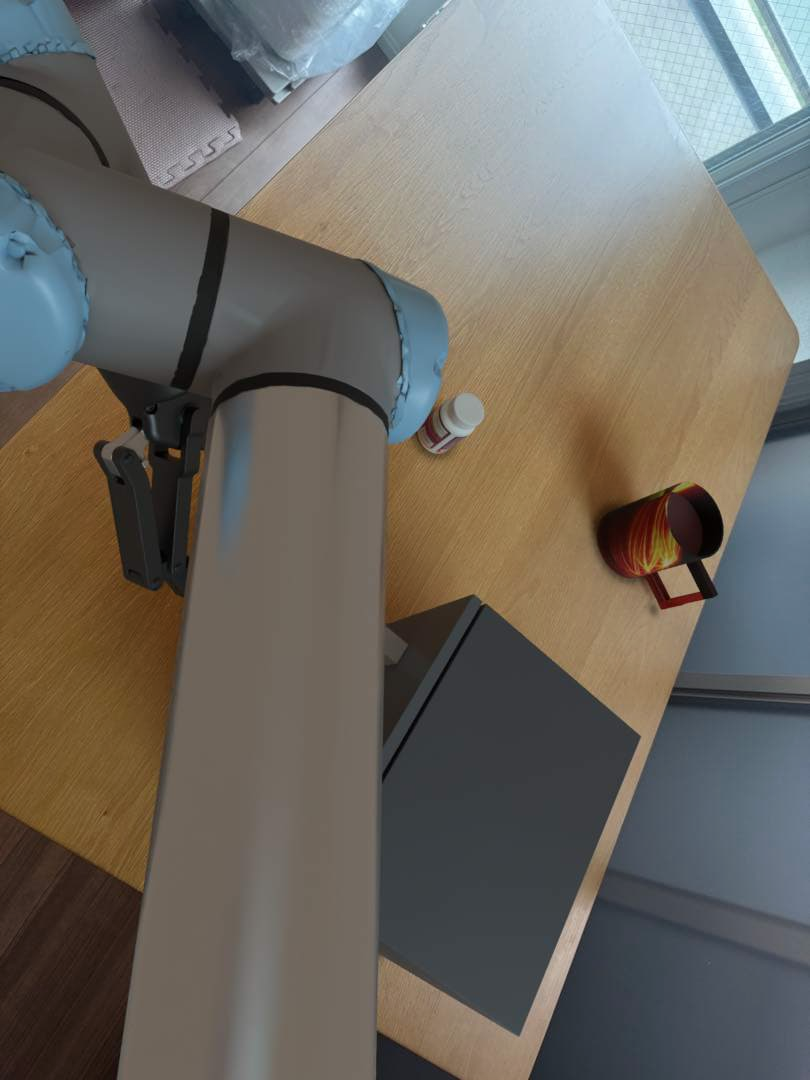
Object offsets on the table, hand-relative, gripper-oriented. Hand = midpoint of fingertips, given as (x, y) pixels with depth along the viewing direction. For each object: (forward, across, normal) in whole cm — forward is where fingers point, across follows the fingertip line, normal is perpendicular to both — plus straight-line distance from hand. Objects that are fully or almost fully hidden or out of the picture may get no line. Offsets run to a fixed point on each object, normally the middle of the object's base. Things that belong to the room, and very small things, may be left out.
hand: (272, 543), depth 57 cm
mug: (+41, -39, +16) cm, 59 cm away
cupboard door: (+21, +7, -4) cm, 22 cm away
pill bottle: (+19, -31, -6) cm, 37 cm away
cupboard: (+30, +7, +5) cm, 31 cm away
